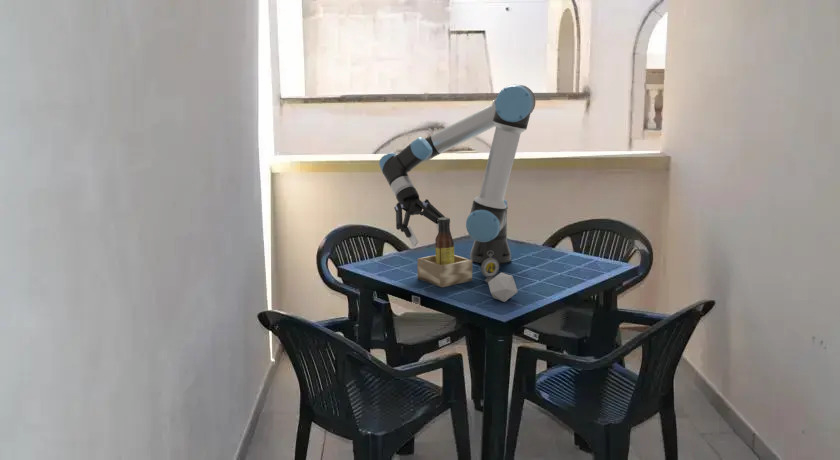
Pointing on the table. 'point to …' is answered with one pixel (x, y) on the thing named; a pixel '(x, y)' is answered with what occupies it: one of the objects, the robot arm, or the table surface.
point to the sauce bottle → (444, 243)
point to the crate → (444, 271)
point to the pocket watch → (487, 265)
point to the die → (502, 287)
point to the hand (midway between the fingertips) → (431, 241)
